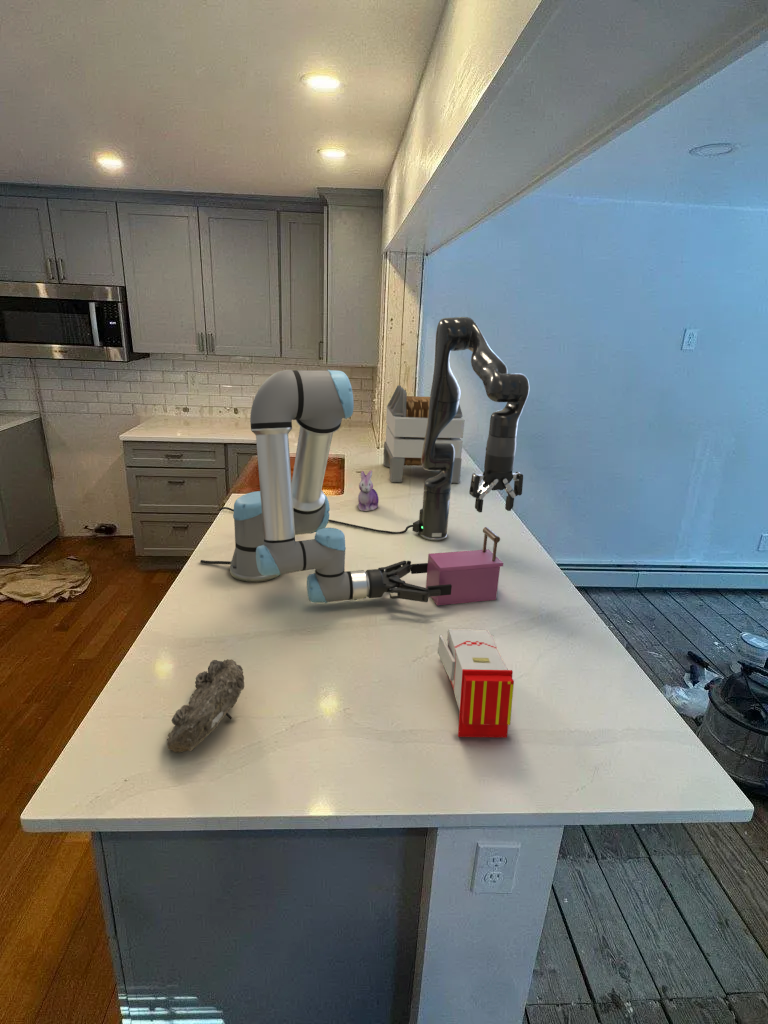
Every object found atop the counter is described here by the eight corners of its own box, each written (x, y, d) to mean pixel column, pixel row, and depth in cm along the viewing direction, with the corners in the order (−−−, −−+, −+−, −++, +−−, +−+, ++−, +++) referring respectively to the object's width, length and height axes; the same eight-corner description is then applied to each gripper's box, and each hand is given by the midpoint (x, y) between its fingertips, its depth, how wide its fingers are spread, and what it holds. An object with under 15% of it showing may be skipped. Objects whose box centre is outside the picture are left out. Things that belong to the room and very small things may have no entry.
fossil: (192, 660, 117) (244, 628, 112) (224, 691, 120) (276, 661, 115) (142, 746, 98) (202, 712, 93) (182, 779, 101) (242, 748, 96)
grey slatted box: (382, 463, 289) (386, 382, 275) (445, 464, 293) (451, 384, 279) (390, 482, 257) (394, 392, 243) (460, 483, 261) (468, 394, 247)
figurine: (362, 513, 218) (363, 475, 213) (351, 505, 226) (352, 468, 221) (384, 510, 222) (385, 473, 217) (372, 502, 230) (374, 466, 225)
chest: (481, 584, 166) (485, 552, 162) (496, 599, 157) (500, 566, 154) (425, 589, 161) (428, 557, 158) (437, 605, 153) (439, 571, 149)
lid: (488, 552, 162) (491, 525, 160) (503, 566, 154) (506, 537, 151) (428, 557, 158) (430, 528, 155) (440, 571, 149) (442, 542, 146)
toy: (488, 613, 130) (523, 677, 101) (484, 667, 133) (517, 744, 104) (435, 612, 130) (455, 676, 101) (432, 666, 133) (451, 743, 103)
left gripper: (355, 576, 162) (426, 570, 168) (377, 620, 140) (457, 612, 145) (356, 552, 160) (427, 547, 165) (378, 593, 137) (460, 586, 142)
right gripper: (481, 456, 142) (475, 517, 147) (532, 455, 146) (524, 514, 151) (469, 449, 149) (463, 507, 154) (518, 448, 152) (511, 505, 158)
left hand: (441, 577), depth 155 cm, fingers open, 13 cm apart
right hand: (493, 510), depth 153 cm, fingers open, 8 cm apart
